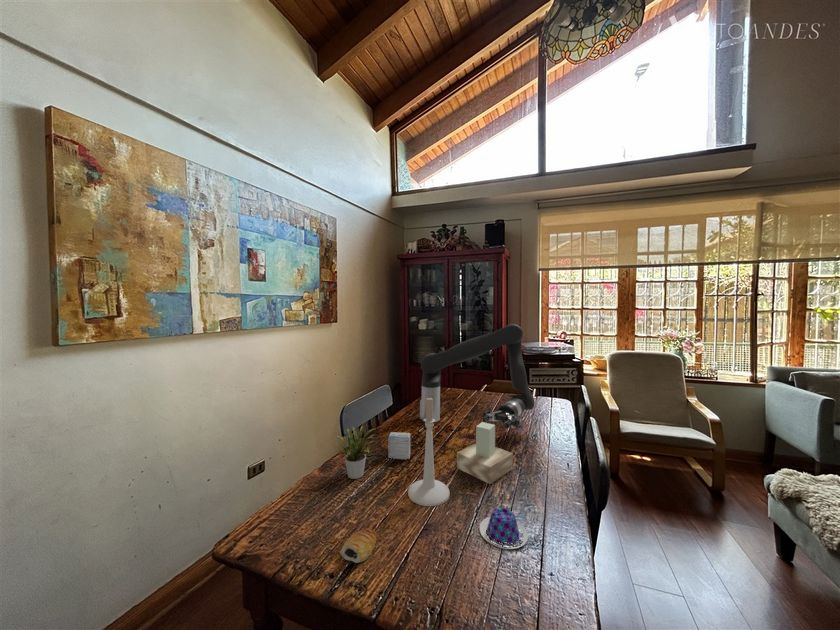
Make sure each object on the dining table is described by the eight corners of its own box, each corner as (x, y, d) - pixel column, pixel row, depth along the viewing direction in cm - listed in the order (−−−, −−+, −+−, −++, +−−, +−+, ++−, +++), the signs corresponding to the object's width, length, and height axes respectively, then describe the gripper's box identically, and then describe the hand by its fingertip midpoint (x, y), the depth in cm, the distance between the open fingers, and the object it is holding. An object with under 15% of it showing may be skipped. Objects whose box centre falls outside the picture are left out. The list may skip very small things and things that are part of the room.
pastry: (361, 532, 82) (361, 517, 82) (384, 540, 80) (384, 525, 79) (338, 558, 74) (338, 542, 74) (362, 568, 71) (362, 552, 71)
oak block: (456, 469, 114) (456, 452, 114) (479, 456, 124) (480, 441, 124) (490, 485, 104) (490, 467, 104) (512, 469, 114) (512, 453, 114)
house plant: (388, 470, 112) (388, 424, 112) (365, 490, 100) (365, 439, 99) (354, 461, 118) (354, 417, 118) (329, 479, 106) (329, 431, 105)
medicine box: (410, 454, 124) (410, 432, 124) (409, 460, 120) (409, 437, 119) (390, 453, 125) (390, 431, 124) (388, 459, 120) (388, 436, 120)
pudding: (535, 551, 76) (536, 529, 76) (485, 552, 76) (486, 531, 76) (518, 517, 88) (518, 499, 88) (474, 518, 88) (475, 500, 88)
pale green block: (475, 454, 113) (476, 426, 112) (481, 448, 117) (482, 421, 116) (489, 458, 110) (489, 429, 109) (494, 452, 114) (495, 424, 113)
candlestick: (419, 511, 90) (420, 406, 89) (401, 487, 102) (401, 394, 100) (457, 498, 96) (458, 400, 95) (436, 478, 107) (436, 389, 106)
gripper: (493, 399, 138) (477, 409, 125) (527, 406, 130) (513, 417, 116) (493, 416, 138) (477, 428, 125) (526, 424, 130) (513, 437, 117)
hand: (494, 423), depth 121 cm, fingers open, 8 cm apart
